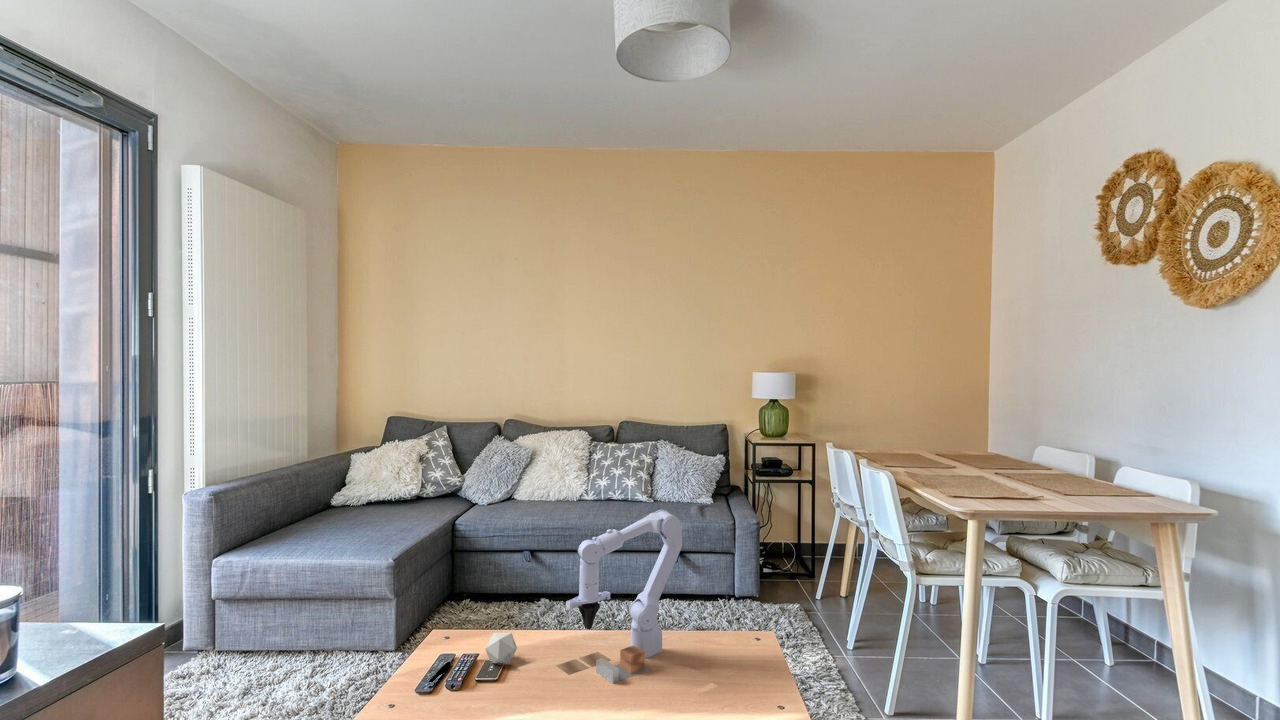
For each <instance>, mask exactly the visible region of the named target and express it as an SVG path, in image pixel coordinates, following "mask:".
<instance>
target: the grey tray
mask: <svg viewBox="0 0 1280 720" xmlns="http://www.w3.org/2000/svg"><path fill="white" fill-rule="evenodd" d="M651 670H652V668H650V667H648V666H647V665H645V664H644V669H642V670H640V671H637V672H634V673H631V674H630V673H629V672H627V671H626V670H624V669H622V668H621V667H620V663H619V664H616V665H614V664H611V662H610V661H608V662H607V661H605V660H604V659H602V658H601V659H598V660H596V666H595V673H596V674H597V675H599V676H600V677H602V678H603V679H605V680H606V681H608V682H609V683H610V684H616V683H619V682H621V681H624V680H627V679H629V678H630V679H631V678H633V677H635V676H637V675H640V674H643V673H646V672H649V671H651Z"/></svg>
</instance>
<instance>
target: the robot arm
mask: <svg viewBox="0 0 1280 720" xmlns="http://www.w3.org/2000/svg"><path fill="white" fill-rule="evenodd" d="M683 529H684V526H683V525H682V522H681V520H680V519H679V518H678V517H677V516H676V515H673V514H671V513H669V511H667V510H666V509H658V510H656V511H655V512H651V513H649V514H648V515H647V516H644V517H643V518H641V519H639V520H638V521H635V522H633V523H632V524H631V525H628V526H627V527H624V528H622V529H620V530H618V529H614V528H613V529H611V528H609V529H607V530H606V532H605V533H603V534H601V535H597V536H593V537H592V539H585V540H583V541H581V544H579V546H578V548H577V554H578V555H579V557H580V559H579V583H578V584H579V585H578V589H579V590H578V591H579V592H578V596H575V597H574V598H571V599H569V600H566V601H565V602H566V603H565V605H566V609H568V610H573V609H574V608H577V609H578V610H579V612H580V615H581V618H582V621H583V627H584V629H587V630H591V629H593V625H594V622H595V619H596V616H597V613H598V611H599V610H600V609H601V604H600V603H598V602H600V601H605V600H607V601H608V600H611V592H610V591H599V589H600V588H599V579H600V578H599V577H600V576H599V575H600V566H599V565H600V564H599V563H600V560H601V559H602V557H603V556H605V555H608V554H610V553H612V552H614V551H617V550H619V549H620V548H622V547H623V545H624V542H626V541H628V540H631V539H633V538H636V537H637V536H638V537H639V536H640V535H642V534H645V533H648V532H649V533H654V534H658V535H660V537H661V539H662V542H663V546H662V548H661V551H660V552H659V555H658V558H657V559H656V562H655V564H654V566H653V568H652V571H651V572H650V575H649V577H648V580H647V582H646V584H645V587H644V589H643V590H642V592H640V593H638V594H637V597H636V599H634V601H633V602H631V604H630V605H629V608H628V614H629V616H630V618H631V623H630V647H631V646H636V647H638V648H639V649H641V650H643V651H645V659H649V658H651V657H653V656H655V655H657V654H660V653H663V630H662V628H661V626H660V625H659V623H658V615H659V614H658V613H659V611H660V599H661V595H662V593H663V591H664V589H665V586H666V584H667V582H668V579H669V577H670V576H671V575H670V574H671V573H672V571H673V568H674V566H675V564H676V561H677V559H678V557H679V555H680V552H681V550H682V548H683V533H682V532H683Z"/></svg>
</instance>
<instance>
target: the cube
mask: <svg viewBox="0 0 1280 720" xmlns="http://www.w3.org/2000/svg"><path fill="white" fill-rule="evenodd" d="M619 651H620V652H619V654H620V657H619V658H620V659H619V664H620V667H621V668H622V669H624V670H626V671H627V672H629V673H630V674H631V673H634V672H637V671H640V670H642V669H644V665H645V659H646V658H645V651H643V650H641V649H639V648H638V647H636V646H631V645H630V646H628V647H625V648H622V649H620V650H619Z"/></svg>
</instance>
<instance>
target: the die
mask: <svg viewBox="0 0 1280 720" xmlns="http://www.w3.org/2000/svg"><path fill="white" fill-rule="evenodd" d="M484 650H485V652H486V654H487V657H488V659H489V661H493V662H500V663H504V664H503V665H510V663H511V662H512V659H513V657H514V656H515V653H516V651H517V650H518V646H517V644H516V641H515V639H514V636H513V633H512V632H493V634H492V635H491V637H490V638H489V641H488V643H487V644H486V647H485V649H484Z"/></svg>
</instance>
